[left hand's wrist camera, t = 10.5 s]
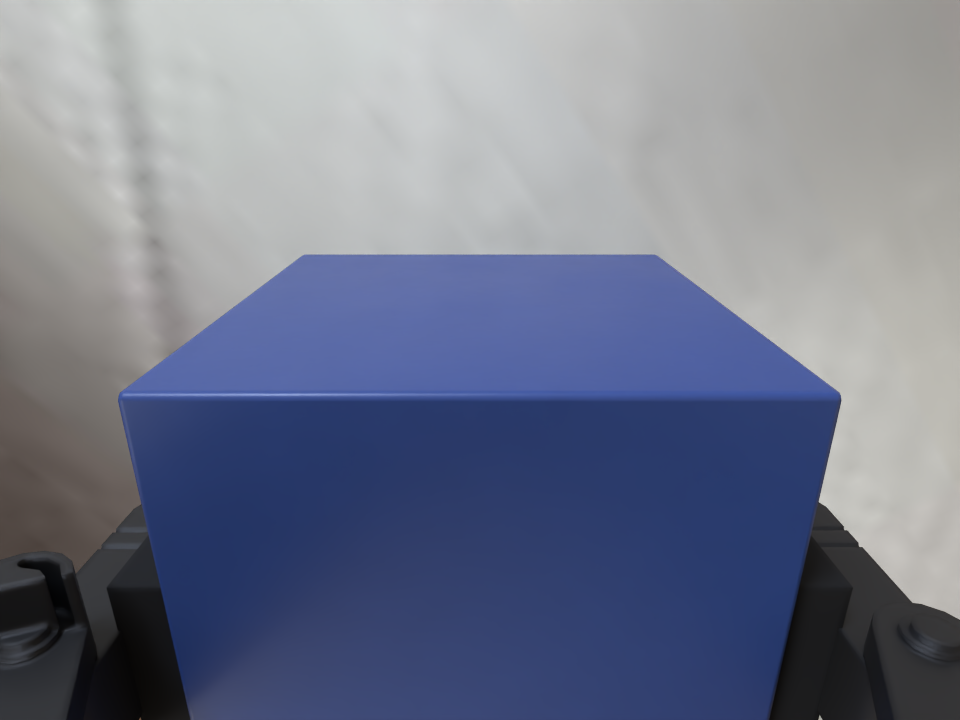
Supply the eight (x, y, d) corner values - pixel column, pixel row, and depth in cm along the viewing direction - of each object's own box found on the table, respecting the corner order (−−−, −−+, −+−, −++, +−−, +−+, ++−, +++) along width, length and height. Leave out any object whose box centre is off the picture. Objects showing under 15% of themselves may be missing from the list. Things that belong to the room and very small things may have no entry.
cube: (657, 253, 13) (846, 393, 6) (625, 564, 16) (733, 889, 9) (301, 253, 13) (112, 393, 6) (333, 564, 16) (225, 889, 9)
